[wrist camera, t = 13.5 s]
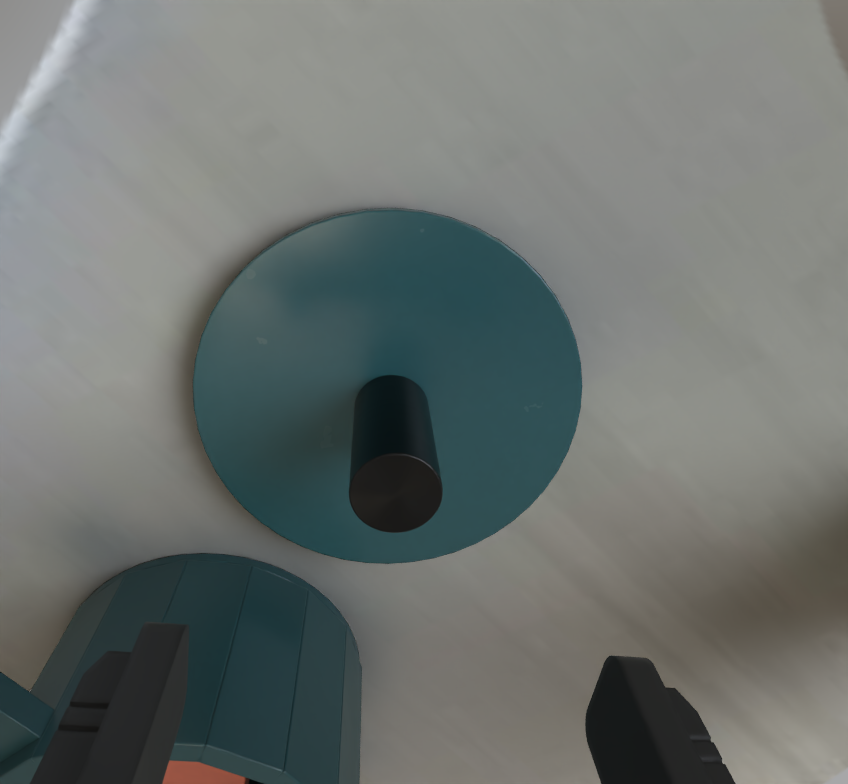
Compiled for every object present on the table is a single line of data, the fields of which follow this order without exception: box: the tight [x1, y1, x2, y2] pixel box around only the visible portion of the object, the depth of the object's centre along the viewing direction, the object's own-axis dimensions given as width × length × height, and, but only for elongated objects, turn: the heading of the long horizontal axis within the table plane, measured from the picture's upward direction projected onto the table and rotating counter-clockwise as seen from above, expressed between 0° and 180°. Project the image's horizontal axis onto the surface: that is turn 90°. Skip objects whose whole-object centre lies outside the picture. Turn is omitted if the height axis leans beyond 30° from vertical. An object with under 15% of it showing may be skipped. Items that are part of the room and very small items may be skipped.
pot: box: [0, 553, 362, 784], centre depth 25 cm, size 13×18×8 cm
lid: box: [193, 208, 582, 564], centre depth 21 cm, size 14×14×7 cm
